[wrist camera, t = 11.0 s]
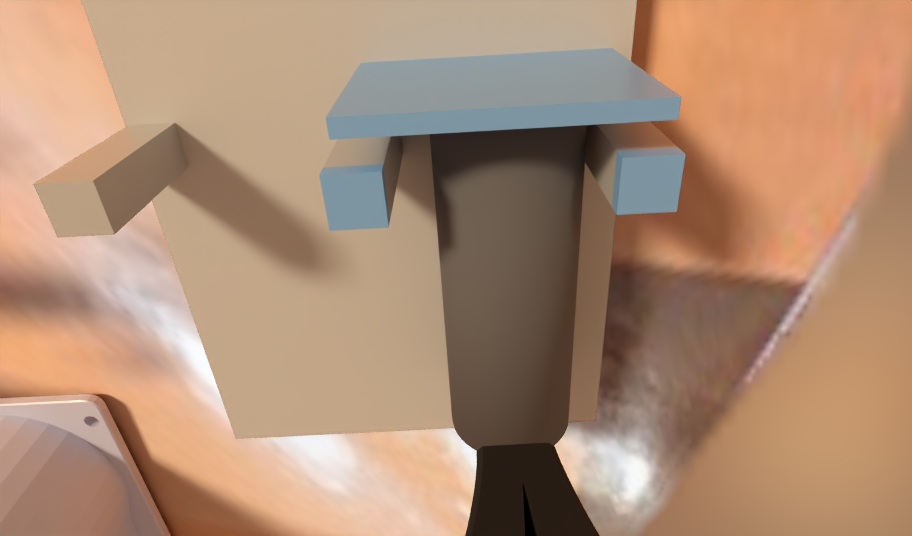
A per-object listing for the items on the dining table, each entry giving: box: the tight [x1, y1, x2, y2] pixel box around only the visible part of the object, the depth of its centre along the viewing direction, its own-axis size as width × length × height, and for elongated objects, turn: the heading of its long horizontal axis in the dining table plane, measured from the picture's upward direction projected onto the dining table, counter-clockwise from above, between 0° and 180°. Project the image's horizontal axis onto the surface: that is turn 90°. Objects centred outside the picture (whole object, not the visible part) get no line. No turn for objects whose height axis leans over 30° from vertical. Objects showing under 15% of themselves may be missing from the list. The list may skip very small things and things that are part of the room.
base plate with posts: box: [33, 0, 686, 439], centre depth 15 cm, size 16×13×6 cm
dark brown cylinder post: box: [430, 125, 587, 450], centre depth 15 cm, size 10×4×4 cm, turn 3°
